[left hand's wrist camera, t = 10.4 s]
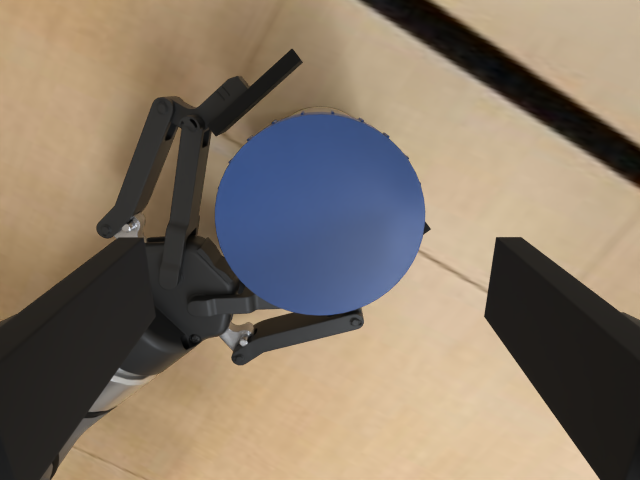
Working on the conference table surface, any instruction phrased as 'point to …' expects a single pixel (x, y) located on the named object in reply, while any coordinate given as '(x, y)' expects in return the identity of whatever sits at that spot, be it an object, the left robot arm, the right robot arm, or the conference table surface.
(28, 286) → the conference table surface
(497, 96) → the conference table surface
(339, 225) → the lid
